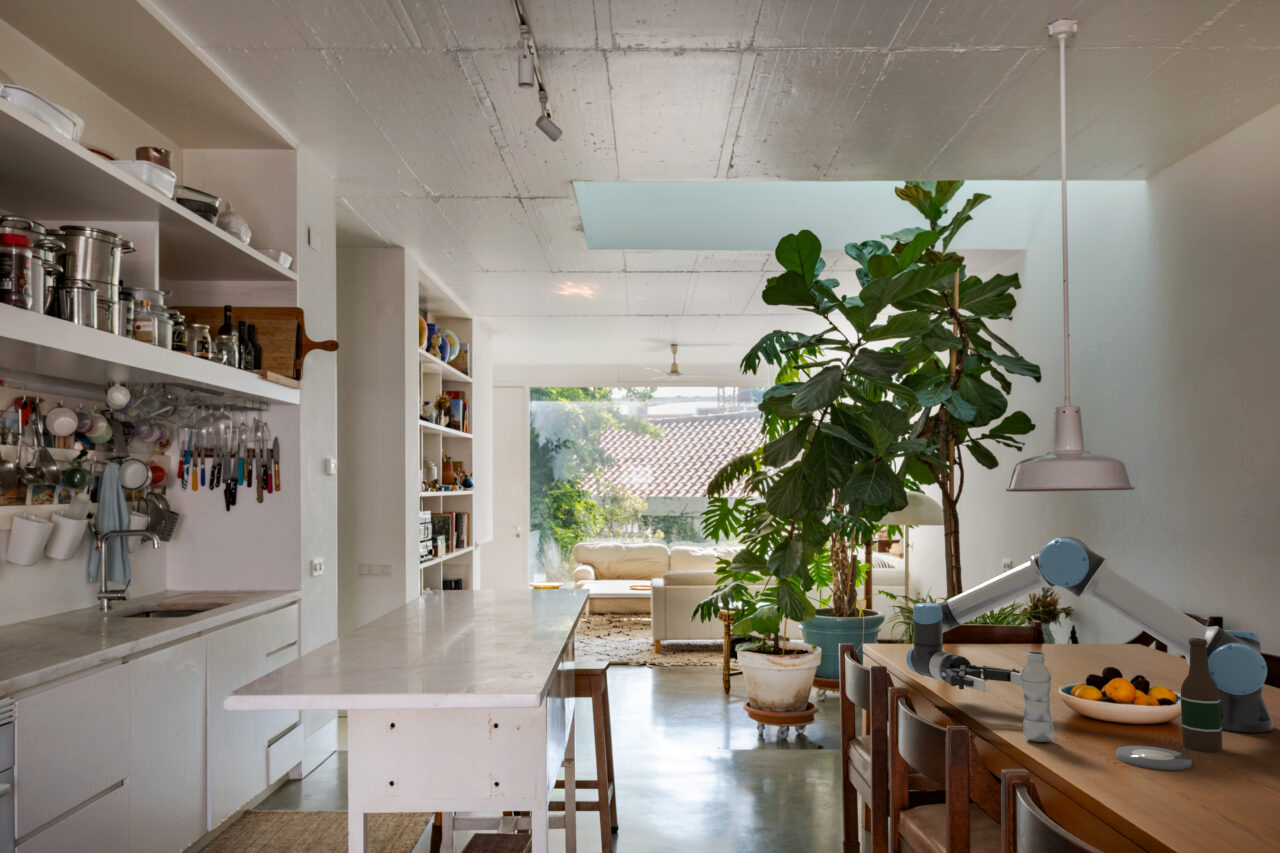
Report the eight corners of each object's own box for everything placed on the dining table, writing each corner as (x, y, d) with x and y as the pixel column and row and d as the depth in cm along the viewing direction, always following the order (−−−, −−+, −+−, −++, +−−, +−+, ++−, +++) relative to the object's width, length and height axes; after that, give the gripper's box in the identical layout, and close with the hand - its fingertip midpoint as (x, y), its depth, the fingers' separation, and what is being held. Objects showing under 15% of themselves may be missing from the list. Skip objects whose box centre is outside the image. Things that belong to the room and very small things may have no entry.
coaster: (1184, 755, 200) (1184, 749, 200) (1198, 773, 187) (1197, 766, 187) (1112, 748, 205) (1112, 743, 205) (1121, 766, 192) (1120, 759, 192)
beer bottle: (1218, 745, 208) (1213, 637, 210) (1227, 754, 201) (1222, 642, 203) (1178, 742, 211) (1174, 635, 213) (1186, 750, 204) (1182, 640, 205)
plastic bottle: (1057, 746, 207) (1054, 655, 209) (1025, 744, 209) (1023, 654, 210) (1051, 738, 214) (1048, 651, 215) (1020, 737, 215) (1017, 650, 217)
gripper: (991, 680, 245) (1050, 696, 225) (910, 686, 237) (964, 704, 217) (990, 651, 245) (1049, 665, 225) (910, 656, 238) (963, 671, 217)
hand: (1007, 684), depth 221 cm, fingers open, 13 cm apart
